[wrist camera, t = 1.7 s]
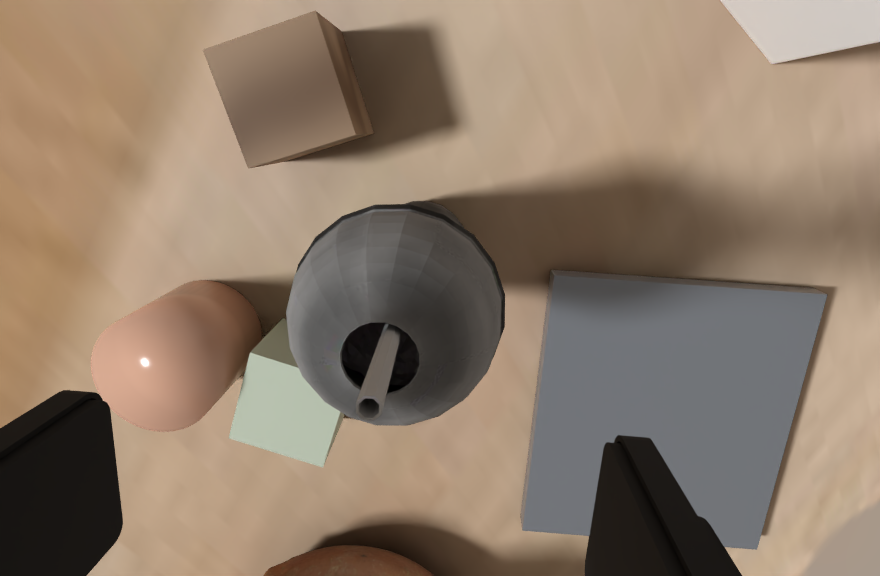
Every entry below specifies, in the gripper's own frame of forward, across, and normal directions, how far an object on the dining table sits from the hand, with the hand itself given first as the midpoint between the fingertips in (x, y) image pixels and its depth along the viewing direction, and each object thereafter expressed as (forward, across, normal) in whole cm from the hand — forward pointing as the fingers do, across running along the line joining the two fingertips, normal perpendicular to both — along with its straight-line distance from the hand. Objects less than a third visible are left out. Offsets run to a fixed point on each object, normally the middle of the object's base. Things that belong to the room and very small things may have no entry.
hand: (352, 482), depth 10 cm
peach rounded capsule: (+20, +12, +5) cm, 24 cm away
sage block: (+20, +6, +7) cm, 23 cm away
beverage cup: (+20, 0, -1) cm, 20 cm away
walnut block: (+20, +6, -8) cm, 22 cm away
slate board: (+20, -14, +8) cm, 26 cm away
